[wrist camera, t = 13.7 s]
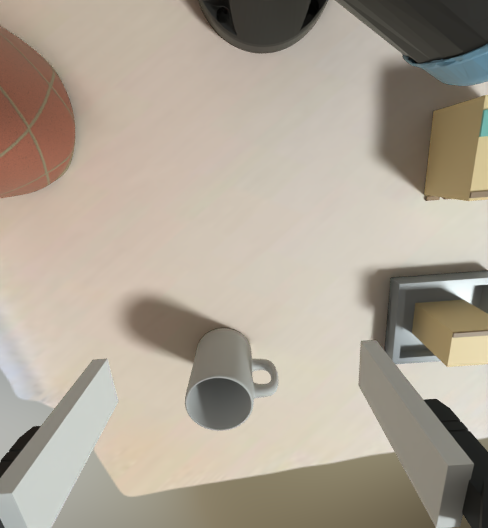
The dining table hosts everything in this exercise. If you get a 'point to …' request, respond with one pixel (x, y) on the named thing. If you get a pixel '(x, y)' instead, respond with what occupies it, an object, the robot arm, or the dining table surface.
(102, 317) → the dining table surface
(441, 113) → the tan teal-banded block
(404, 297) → the tray
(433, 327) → the plain tan block
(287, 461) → the dining table surface
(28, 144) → the planter
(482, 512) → the robot arm
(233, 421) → the mug
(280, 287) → the dining table surface
